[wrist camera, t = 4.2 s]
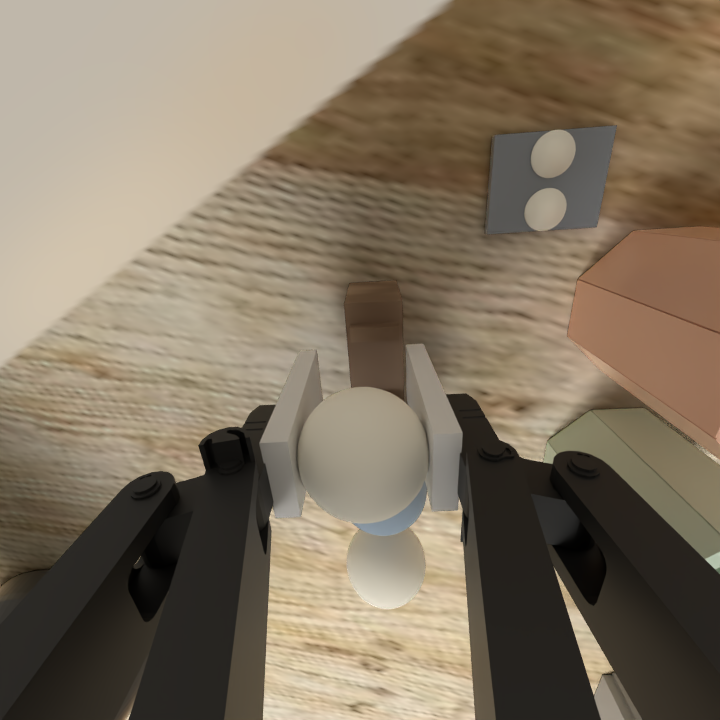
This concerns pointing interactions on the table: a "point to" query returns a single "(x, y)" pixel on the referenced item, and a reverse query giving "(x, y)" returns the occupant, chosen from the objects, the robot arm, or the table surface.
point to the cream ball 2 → (386, 567)
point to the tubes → (630, 326)
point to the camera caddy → (614, 700)
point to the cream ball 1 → (363, 455)
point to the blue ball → (398, 518)
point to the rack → (375, 336)
